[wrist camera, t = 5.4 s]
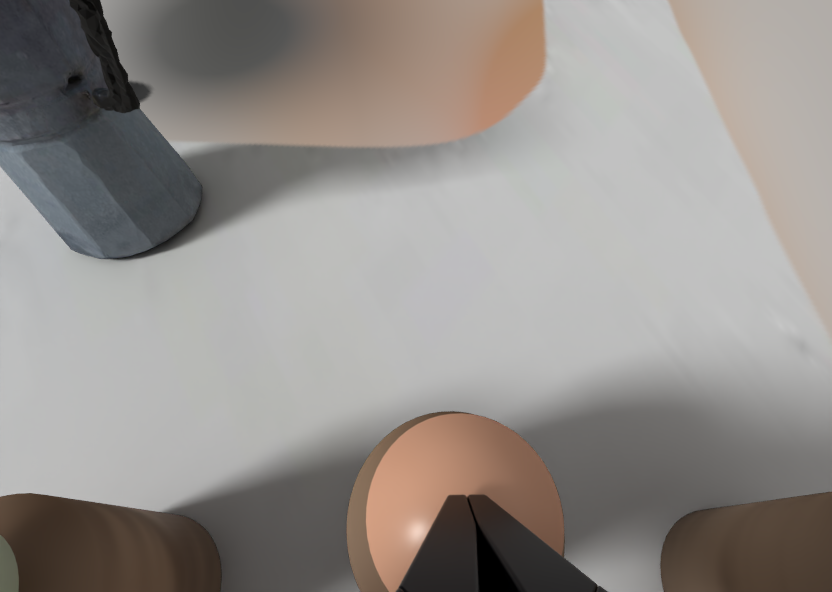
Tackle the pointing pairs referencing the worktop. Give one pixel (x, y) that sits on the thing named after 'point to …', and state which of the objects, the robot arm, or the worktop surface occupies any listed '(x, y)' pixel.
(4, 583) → the sage button
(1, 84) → the moka pot
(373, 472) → the button stands
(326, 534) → the worktop surface
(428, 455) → the terracotta button
